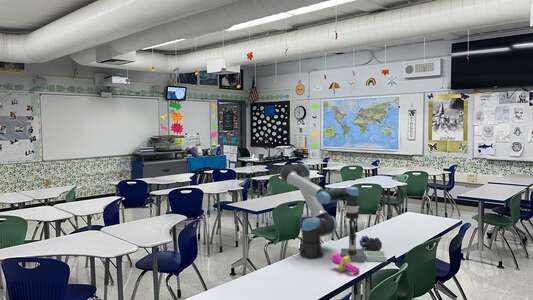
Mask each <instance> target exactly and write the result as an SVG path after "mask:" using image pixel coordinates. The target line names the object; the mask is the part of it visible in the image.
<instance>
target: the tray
mask: <svg viewBox="0 0 533 300" xmlns="http://www.w3.org/2000/svg"><path fill="white" fill-rule="evenodd" d="M364 254H365V262H369V263H370V262H372V263H374V262H376V263H377V262H378V263H387V261H388V259H387V255H386V251H380V250H378V251H369V250H364Z"/></svg>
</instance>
